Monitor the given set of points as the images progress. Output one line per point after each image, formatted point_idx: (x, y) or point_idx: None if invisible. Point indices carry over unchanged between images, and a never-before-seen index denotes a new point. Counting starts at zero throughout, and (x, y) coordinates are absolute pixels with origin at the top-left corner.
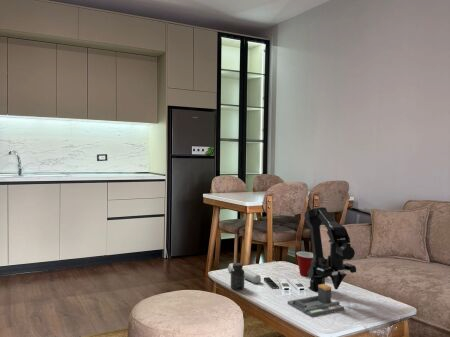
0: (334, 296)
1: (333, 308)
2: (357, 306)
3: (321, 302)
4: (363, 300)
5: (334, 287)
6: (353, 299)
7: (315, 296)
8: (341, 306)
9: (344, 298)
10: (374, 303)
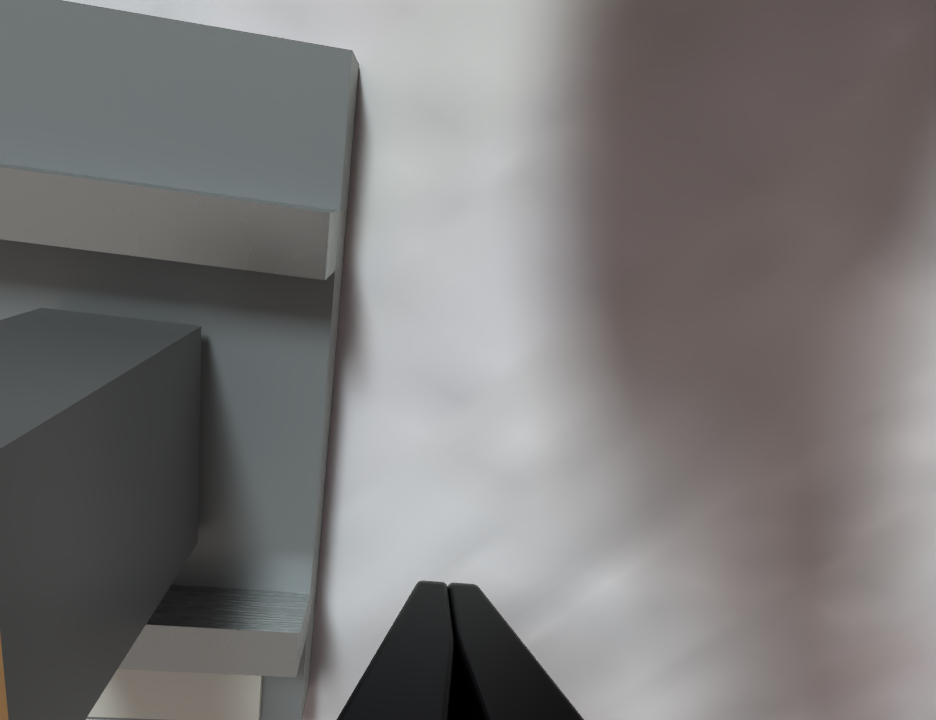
0: (704, 179)
1: None
2: (597, 681)
3: None
4: (897, 570)
5: (404, 616)
6: (825, 469)
7: (20, 192)
8: (280, 692)
9: (754, 360)
10: (891, 707)
